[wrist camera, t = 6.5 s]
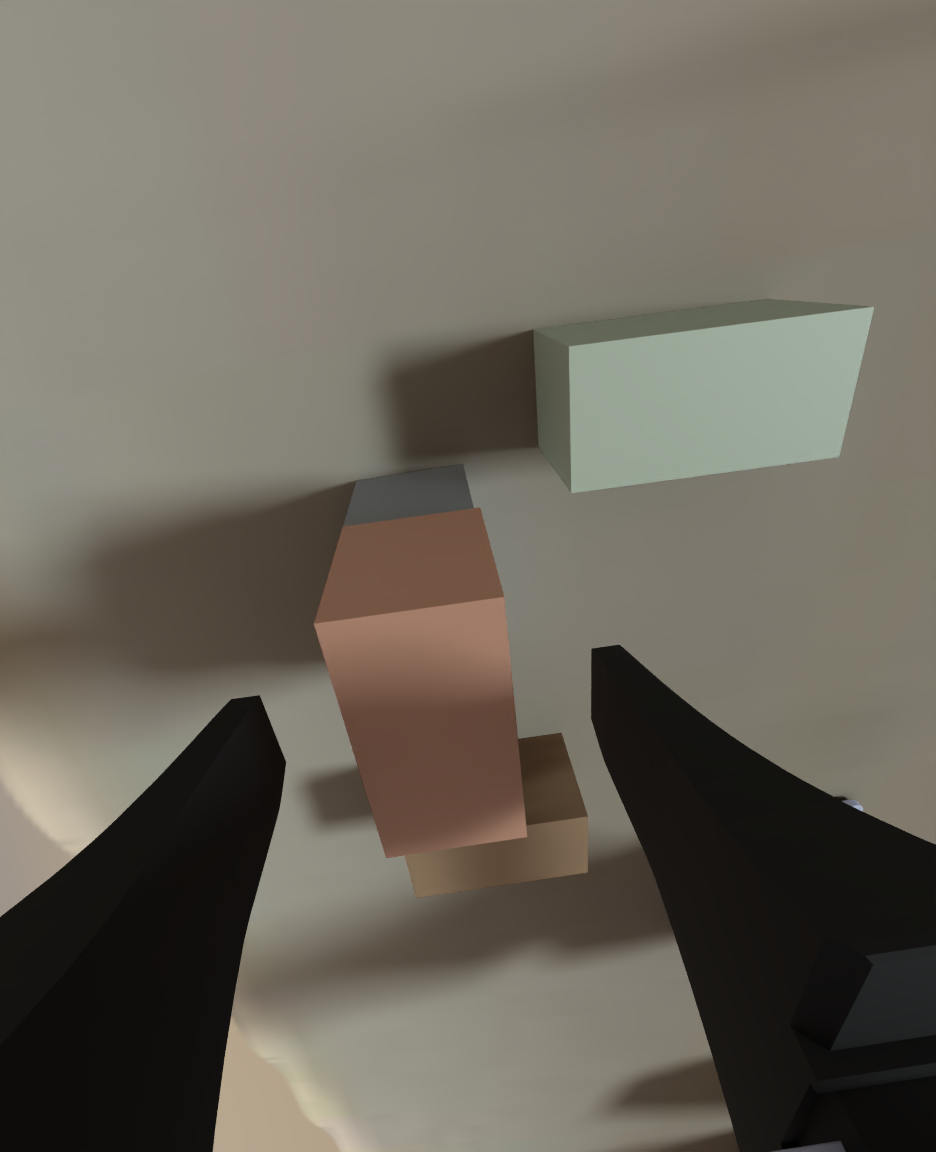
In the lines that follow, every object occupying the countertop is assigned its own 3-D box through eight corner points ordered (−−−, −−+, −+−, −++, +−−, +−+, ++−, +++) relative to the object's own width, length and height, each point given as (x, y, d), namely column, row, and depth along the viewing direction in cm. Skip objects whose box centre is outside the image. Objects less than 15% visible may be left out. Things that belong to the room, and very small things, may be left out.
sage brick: (765, 298, 15) (874, 306, 11) (748, 417, 16) (839, 456, 13) (532, 328, 15) (568, 346, 11) (537, 445, 16) (571, 493, 13)
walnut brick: (560, 730, 22) (587, 816, 18) (562, 784, 23) (588, 872, 20) (404, 753, 22) (401, 843, 18) (416, 805, 23) (416, 897, 20)
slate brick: (487, 636, 19) (503, 716, 16) (398, 650, 19) (394, 734, 16) (462, 463, 16) (475, 515, 13) (356, 480, 16) (339, 536, 13)
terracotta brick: (502, 712, 16) (527, 837, 12) (393, 727, 16) (385, 857, 12) (480, 507, 13) (503, 596, 9) (342, 526, 12) (314, 624, 9)
